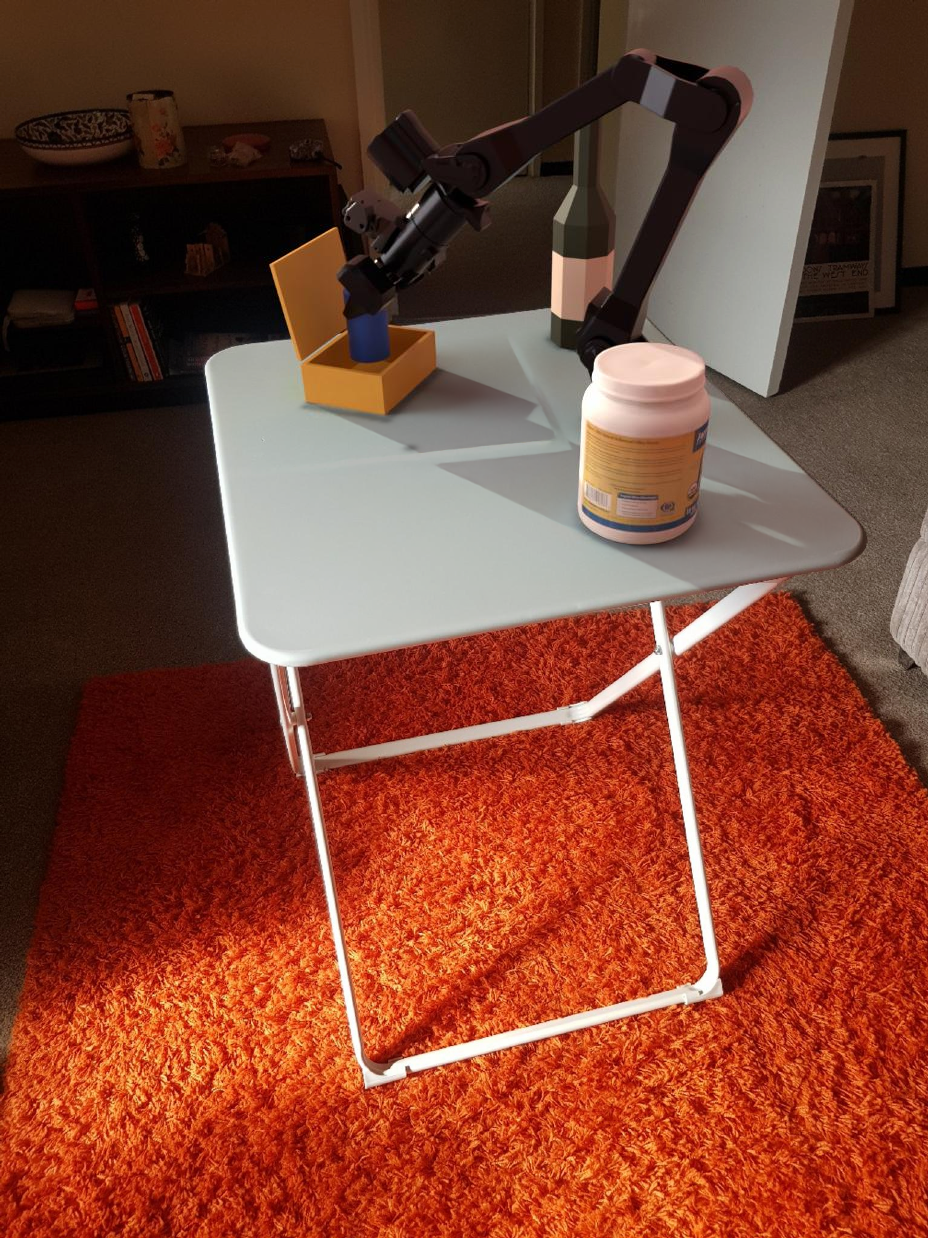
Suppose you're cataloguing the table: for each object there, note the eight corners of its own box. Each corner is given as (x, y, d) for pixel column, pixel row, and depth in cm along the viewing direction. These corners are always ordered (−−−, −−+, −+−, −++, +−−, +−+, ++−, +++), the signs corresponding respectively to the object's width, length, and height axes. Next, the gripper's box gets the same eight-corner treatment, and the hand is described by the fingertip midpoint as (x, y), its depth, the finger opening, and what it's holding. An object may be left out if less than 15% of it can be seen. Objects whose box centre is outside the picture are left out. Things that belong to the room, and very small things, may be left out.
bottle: (388, 345, 128) (380, 253, 121) (392, 360, 124) (384, 266, 117) (349, 349, 127) (338, 257, 120) (351, 364, 123) (340, 270, 116)
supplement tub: (712, 543, 97) (736, 383, 87) (592, 555, 96) (602, 396, 86) (674, 482, 107) (691, 332, 96) (565, 493, 105) (570, 343, 95)
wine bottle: (611, 349, 136) (627, 111, 118) (552, 350, 136) (558, 113, 118) (605, 327, 143) (619, 98, 124) (548, 328, 143) (553, 100, 125)
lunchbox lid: (337, 226, 126) (313, 229, 127) (273, 263, 114) (247, 266, 116) (360, 317, 132) (336, 319, 134) (301, 361, 121) (276, 362, 123)
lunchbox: (437, 371, 132) (434, 330, 129) (385, 419, 121) (381, 376, 118) (362, 360, 136) (358, 320, 132) (306, 406, 125) (300, 363, 121)
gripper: (417, 149, 117) (347, 236, 128) (342, 189, 104) (270, 282, 114) (480, 222, 119) (405, 302, 130) (414, 271, 106) (337, 355, 116)
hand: (356, 308), depth 122 cm, fingers closed on bottle, 5 cm apart
